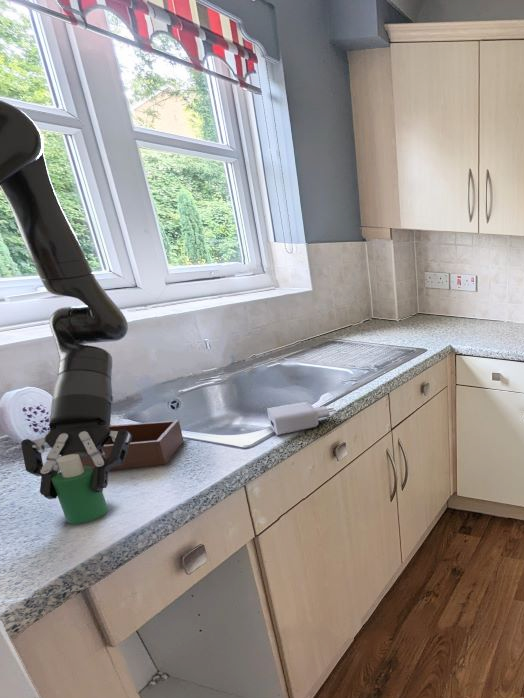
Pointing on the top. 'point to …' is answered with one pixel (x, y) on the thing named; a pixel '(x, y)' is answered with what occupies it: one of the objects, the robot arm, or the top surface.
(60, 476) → the green bottle
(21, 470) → the top surface
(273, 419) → the charger
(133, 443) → the tray
